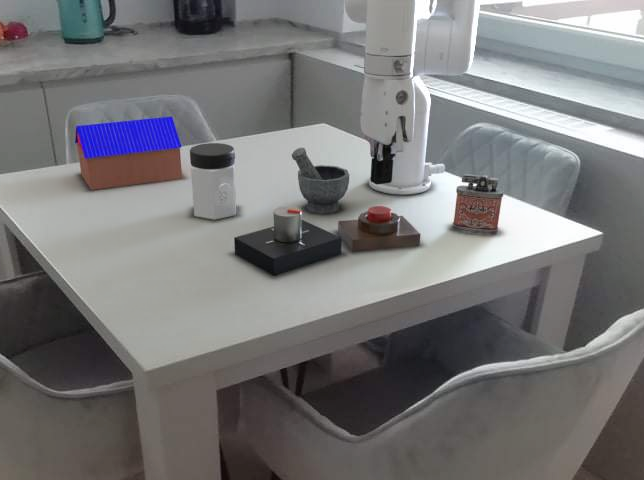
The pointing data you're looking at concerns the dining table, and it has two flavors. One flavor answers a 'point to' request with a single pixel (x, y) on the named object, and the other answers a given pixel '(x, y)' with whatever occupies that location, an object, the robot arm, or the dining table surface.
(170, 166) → the house
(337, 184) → the mortar and pestle
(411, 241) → the button block
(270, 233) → the control panel
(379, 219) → the button
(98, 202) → the dining table surface
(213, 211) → the jar
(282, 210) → the dial knob
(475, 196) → the lighter
